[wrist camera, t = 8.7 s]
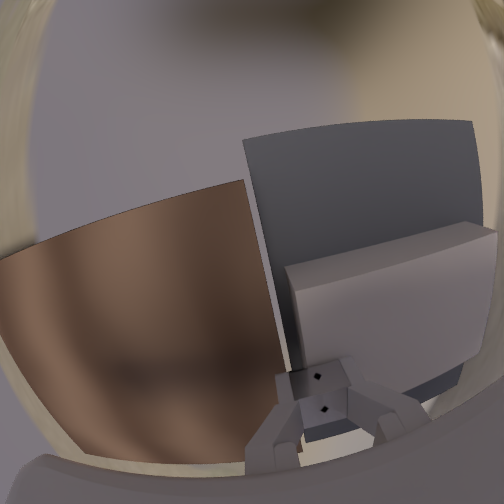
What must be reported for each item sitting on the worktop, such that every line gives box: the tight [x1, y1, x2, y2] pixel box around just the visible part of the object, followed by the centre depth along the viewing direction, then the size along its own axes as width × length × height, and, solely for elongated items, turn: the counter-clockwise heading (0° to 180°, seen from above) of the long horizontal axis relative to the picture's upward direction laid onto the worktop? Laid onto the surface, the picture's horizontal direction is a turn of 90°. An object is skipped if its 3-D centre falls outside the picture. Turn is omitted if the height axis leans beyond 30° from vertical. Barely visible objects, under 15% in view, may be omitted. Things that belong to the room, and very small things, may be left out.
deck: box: [0, 179, 303, 464], centre depth 12 cm, size 16×15×2 cm
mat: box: [243, 119, 483, 443], centre depth 12 cm, size 12×18×1 cm
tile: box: [284, 221, 498, 393], centre depth 11 cm, size 10×7×2 cm
